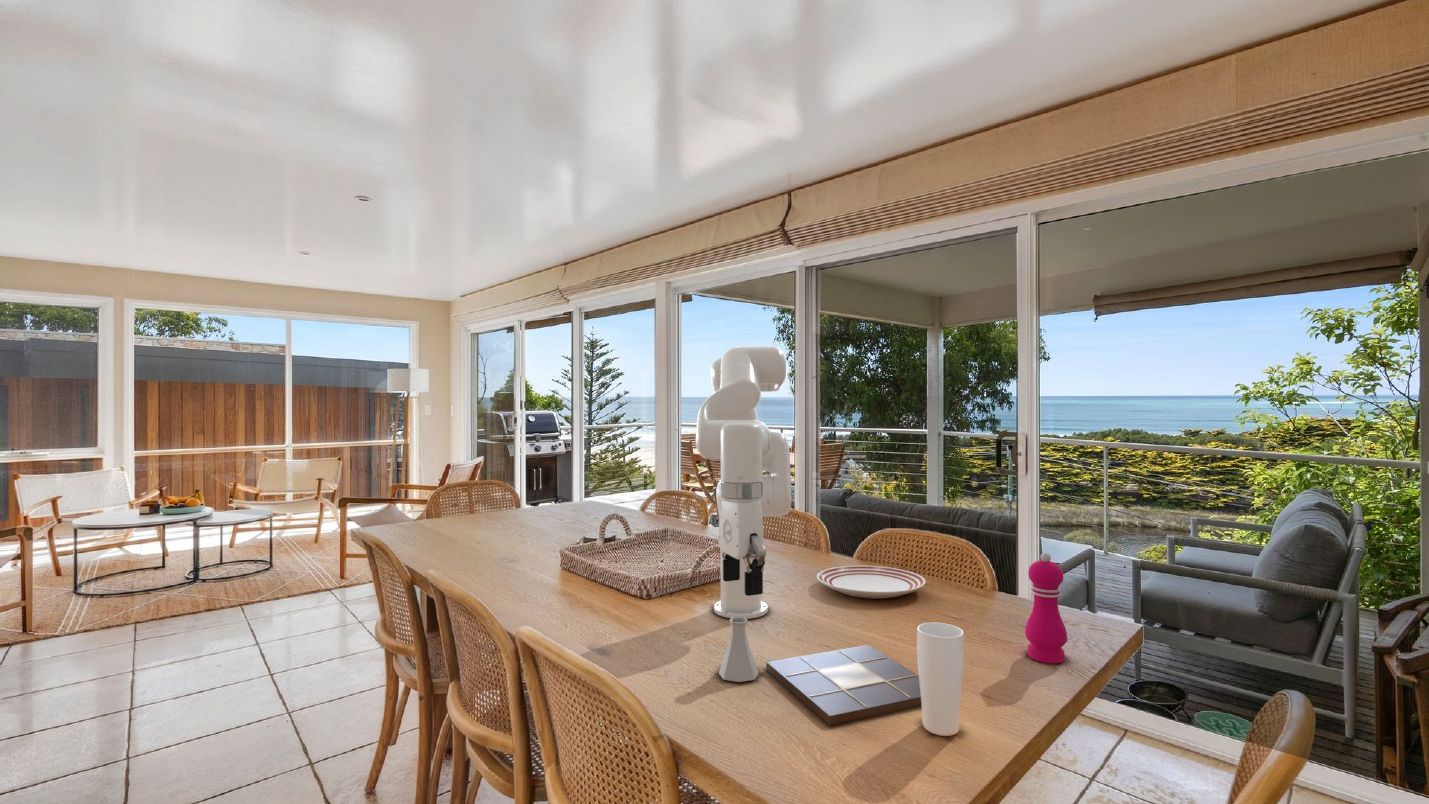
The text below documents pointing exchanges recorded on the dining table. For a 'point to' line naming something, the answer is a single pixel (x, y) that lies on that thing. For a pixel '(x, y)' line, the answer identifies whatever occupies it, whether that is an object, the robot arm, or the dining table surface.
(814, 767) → the dining table surface
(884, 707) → the board
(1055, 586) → the pepper mill
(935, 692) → the drinking glass
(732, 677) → the flask
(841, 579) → the dinner plate
